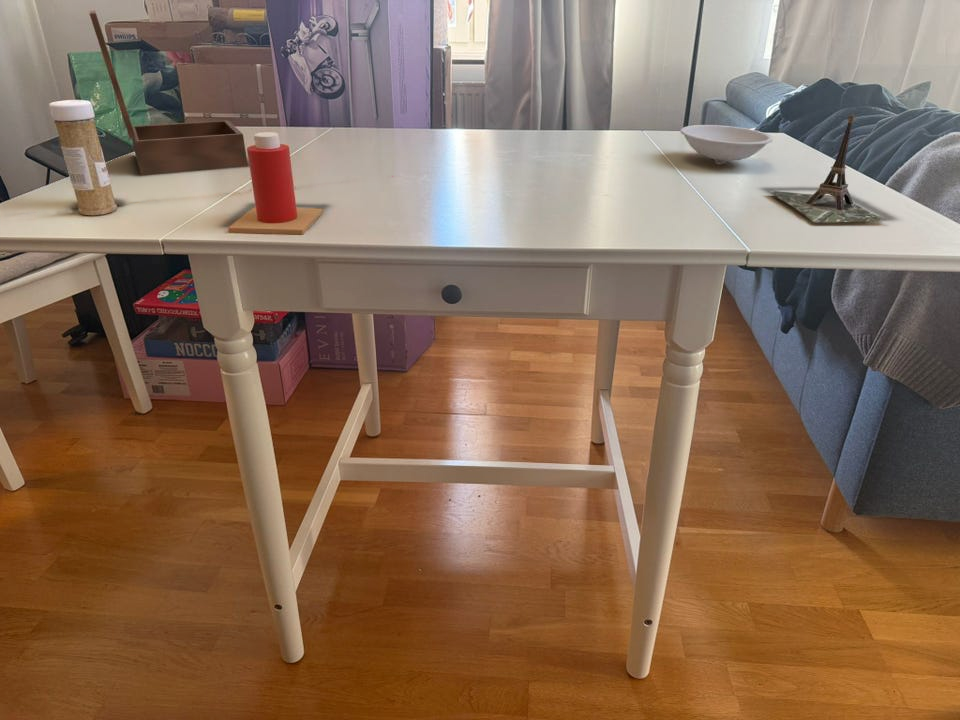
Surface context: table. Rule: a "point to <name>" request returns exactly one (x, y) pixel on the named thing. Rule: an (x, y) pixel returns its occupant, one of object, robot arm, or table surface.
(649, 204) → the table surface
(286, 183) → the ketchup
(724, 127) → the dish
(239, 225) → the trivet
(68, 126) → the sprinkles bottle
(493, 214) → the table surface
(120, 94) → the lid
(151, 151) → the wooden storage tray
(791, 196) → the eiffel tower figurine
